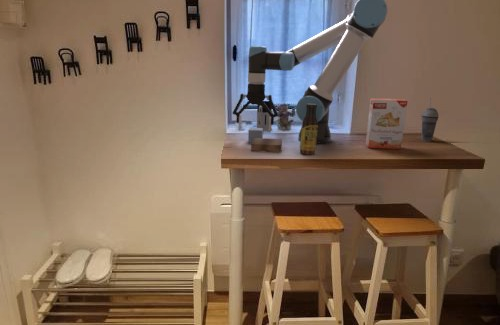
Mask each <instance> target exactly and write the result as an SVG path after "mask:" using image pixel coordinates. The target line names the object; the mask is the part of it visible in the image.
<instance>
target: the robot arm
mask: <svg viewBox="0 0 500 325" xmlns="http://www.w3.org/2000/svg"><path fill="white" fill-rule="evenodd" d="M387 13H388V6H387V3H386V1H385V0H357V1H356V3H355V4H354V7H353V9H352V12H351V13H349V14H348V15H347V16H346V18H345V19H344V20H342V21H340V22H339V23H336V24H334V25H333V26H331V27H329V28H327V29H325V30H323V31H322V32H319V33H318V34H316V35H314V36H313V37H310V38H309V39H307V40H305V41H303V42H301V43H299V44H298V45H295V46H294V47H292V48H290V49H289V50H286V51H269V50H268V48H267V47H266V46H262V45H261V46H259V45H255V46H254V45H252V46H250V47H249V50H248V57H247V58H248V69H247V70H248V71H247V82H248V84H247V94H246V93H240V96H239V100H238V102H237V103H236V105H235V107H234V110H233V111H232V114H233V115H235V116H236V124H238V132H239V131H240V132H241V130H242V115H241V114H242V113H243V112H244V111H245V110H246V108H247V107H248V106H249V105H256V106H257V105H260V104H261V105H262V106H263V107H264V108H265V110H266V111H267V112H268V114H269V115H270V116H271V117H269V131H268V133H271V132H272V131H271V128H272V126H273V125H274V122H275V120H274V118H276V117H278V116H279V113H278V111H277V109H276V106H275V104H274V101H273V98H272V94H267V95H266V94H265V92H266V91H265V90H266V84H265V83H266V71H267V70H269V71H271V70H272V71H283V72H288V71H289V72H291V71H292V70H293V69H294V68H295V67H297V66H298V65H300V64H302V63H303V62H305V61H307V60H309V59H311V58H313V57H316V56H317V55H319V54H321V53H323V52H324V51H327V50H328V49H331V48H332V47H334V46H336V48H335V49H334V51H333V52H332V54H331V56H330V58H329V59H328V61H327V62H326V64H325V66H324V68H323V70H322V71H321V72H320V74H319V76H318V78H317V79H316V82H315V83H314V84H311V85H309V86H308V87H307V89H306V90H305V91H304V95H302V97H301V98H300V99H299V100H298V101H297V103H296V109H295V112H296V115H297V117H298V119H299V120H300V121H302V122H303V120H304V118H305V116H306V110H307V107H306V105H307V104H317V108H316V118H317V123H318V129H317V140H316V144H327V143H330V142H331V141H332V135H331V130H330V127H329V120H330V107H331V105H332V104H333V101H334V97H333V95H334V94H335V91H337V90H336V89H338V87H339V85H340V84H341V81H342V80H343V79H344V77H345V75H346V73H347V72H348V70H349V68H350V67H351V65H352V64H353V62H354V61H355V59H356V57H357V56H358V54H359V52H361V50H362V48H363V47H364V45H365V43H366V42H367V41H370V40H372V39H373V37H374V36H375V35H376V33H377V32H378V29H379V28H380V27H381V26H382V24H383V23H384V21H385V20H386V17H387ZM245 98H246V99H247V100H248V101H247V102H246V103H245V104H244V105H243V106H242V107H241V108H240V106H241V104H242V102H243V101H244V99H245ZM265 99H266V101H269V103H270V105H271V107H272V112H271V111H270V109H269V108H268V107H267V105H266V104H265V102H264V101H265ZM239 108H240V110H239ZM238 110H239V111H238ZM271 125H272V126H271ZM301 131H302V126H301V128H300V130H299V132H298V137H297V139H298V141H300V142H301Z"/></svg>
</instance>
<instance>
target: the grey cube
mask: <svg viewBox="0 0 500 325" xmlns="http://www.w3.org/2000/svg"><path fill="white" fill-rule="evenodd" d="M247 138H248V140H247V142H248V144H252V142H253V140H254V138H264V132H263V128H257V127H249V128H248V137H247Z"/></svg>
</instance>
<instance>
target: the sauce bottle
mask: <svg viewBox="0 0 500 325" xmlns="http://www.w3.org/2000/svg"><path fill="white" fill-rule="evenodd" d="M306 107H307V110H306V116H305V118H304V120H303V121H302V122H301V123H302V125H301V127H302V131H301V141H300V145H299V151H300V154H302V155H309V156H310V155H311V156H312V155H315V153H316V151H317V150H316V149H317V143H316V140H317V129H318V123H317V118H316V108H317V104H307V105H306Z"/></svg>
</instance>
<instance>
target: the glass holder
mask: <svg viewBox="0 0 500 325" xmlns="http://www.w3.org/2000/svg"><path fill="white" fill-rule="evenodd" d="M263 101H264V102H265V104H266V105H267V107H268V108H269V109H270V111H271V112H272V113H273V109H272V107H271V105H270V103H269V100H263ZM256 106H257V108H256V109H257V110H256V128H263V133H264V132H265V133H266V132H269V117H271V116H270V115H269V114H268V112H267V111H266V110H265V108H264V107H263V106H262V105H261V104H260V105H256ZM272 126H273V125H271V132H272V131H273V128H272Z"/></svg>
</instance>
